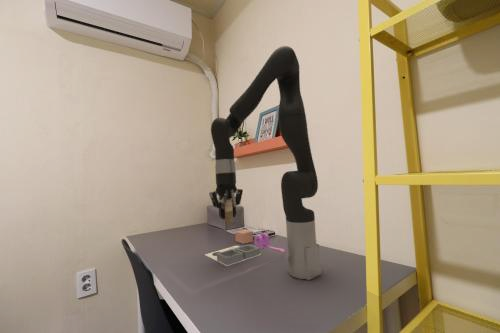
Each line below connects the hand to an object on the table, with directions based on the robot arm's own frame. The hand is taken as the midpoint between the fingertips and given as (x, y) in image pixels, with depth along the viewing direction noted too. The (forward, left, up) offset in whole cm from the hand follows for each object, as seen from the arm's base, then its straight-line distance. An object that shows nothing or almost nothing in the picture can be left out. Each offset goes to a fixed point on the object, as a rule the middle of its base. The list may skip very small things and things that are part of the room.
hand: (227, 217), depth 87 cm
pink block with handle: (-1, -20, -18) cm, 26 cm away
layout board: (+5, -4, -17) cm, 18 cm away
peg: (0, 0, -1) cm, 1 cm away
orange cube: (+16, -19, -17) cm, 30 cm away
